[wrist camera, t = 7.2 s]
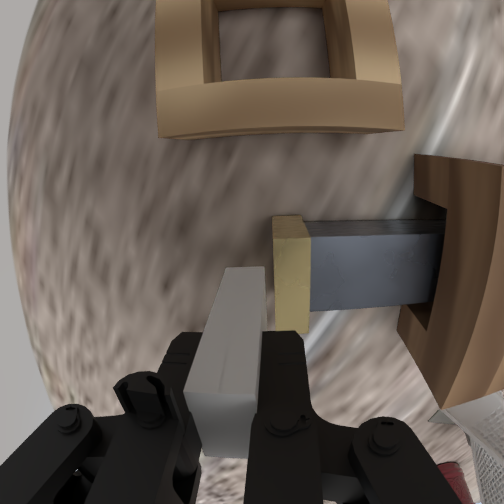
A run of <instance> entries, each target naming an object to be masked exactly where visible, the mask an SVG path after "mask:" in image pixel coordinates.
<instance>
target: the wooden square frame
mask: <svg viewBox="0 0 504 504" xmlns="http://www.w3.org/2000/svg"><path fill="white" fill-rule="evenodd" d="M267 7H312V8H322V12H323V19H324V26H325V33H326V41H327V50H328V59H329V68H330V78H309V77H293V78H261V79H246V80H233V81H223V82H222V79H221V60H220V40H219V18H218V12H219V11H227V10H237V9H249V8H267ZM155 81H156V106H157V124H158V138H168V139H182V140H195V139H204V138H214V137H225V136H238V135H253V134H274V133H357V134H373V133H382V132H392V131H403V130H405V125H404V108H403V96H402V85H401V76H400V68H399V60H398V53H397V47H396V41H395V35H394V29H393V24H392V19H391V14H390V9H389V5H388V1H387V0H156V12H155Z"/></svg>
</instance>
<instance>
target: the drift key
mask: <svg viewBox="0 0 504 504" xmlns="http://www.w3.org/2000/svg"><path fill="white" fill-rule="evenodd" d="M445 228H446V220H368V221H322V222H304V221H303V219H302V217H301V215H291V216H272V230H273V259H274V288H275V323H276V331H289V330H295V331H296V332H297V333H298V334H304V333H309V313H310V312H312V311H330V310H345V309H359V308H372V307H384V306H395V305H405V304H415V303H424V302H432V301H434V298H435V293H436V288H437V283H438V277H439V272H440V266H441V259H442V253H443V245H444V237H445Z"/></svg>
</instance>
